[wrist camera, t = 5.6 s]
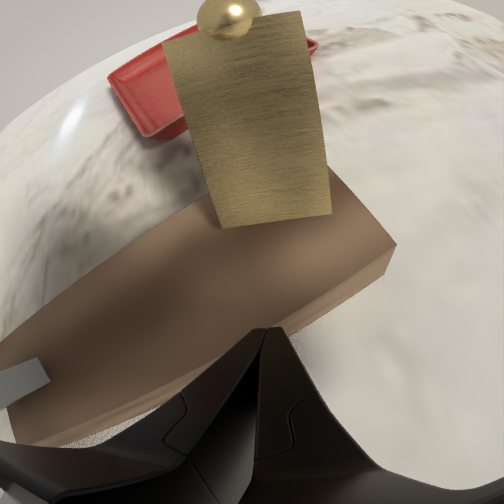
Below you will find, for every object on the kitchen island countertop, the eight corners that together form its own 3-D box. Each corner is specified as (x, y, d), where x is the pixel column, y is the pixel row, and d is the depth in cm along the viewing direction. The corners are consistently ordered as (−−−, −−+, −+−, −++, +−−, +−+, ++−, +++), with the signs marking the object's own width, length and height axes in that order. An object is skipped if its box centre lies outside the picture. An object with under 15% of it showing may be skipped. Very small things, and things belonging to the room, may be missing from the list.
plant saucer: (234, 27, 34) (227, 8, 31) (326, 69, 26) (322, 41, 23) (117, 94, 33) (105, 76, 30) (162, 165, 25) (144, 140, 22)
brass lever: (333, 219, 13) (291, -26, 7) (220, 234, 14) (147, 11, 8) (326, 191, 15) (288, -16, 9) (228, 205, 16) (168, 12, 10)
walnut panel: (383, 274, 17) (396, 244, 13) (57, 447, 16) (18, 448, 13) (308, 180, 20) (302, 139, 17) (31, 356, 20) (-5, 346, 16)
